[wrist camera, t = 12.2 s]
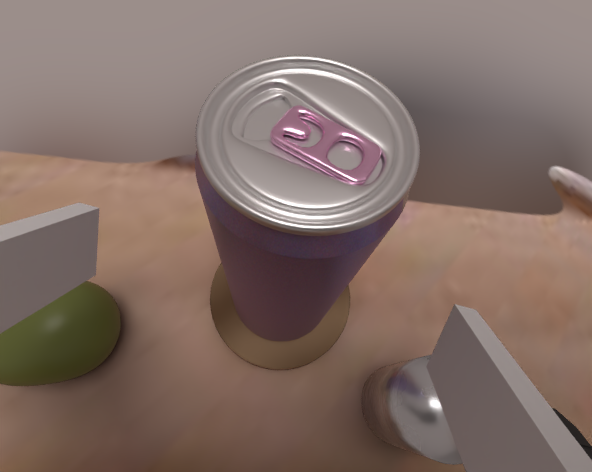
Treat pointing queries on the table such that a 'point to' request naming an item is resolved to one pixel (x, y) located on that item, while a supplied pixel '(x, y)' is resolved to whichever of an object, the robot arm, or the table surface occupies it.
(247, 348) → the coaster
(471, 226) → the table surface
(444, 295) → the table surface
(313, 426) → the table surface
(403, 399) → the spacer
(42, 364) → the pear
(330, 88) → the beverage can
